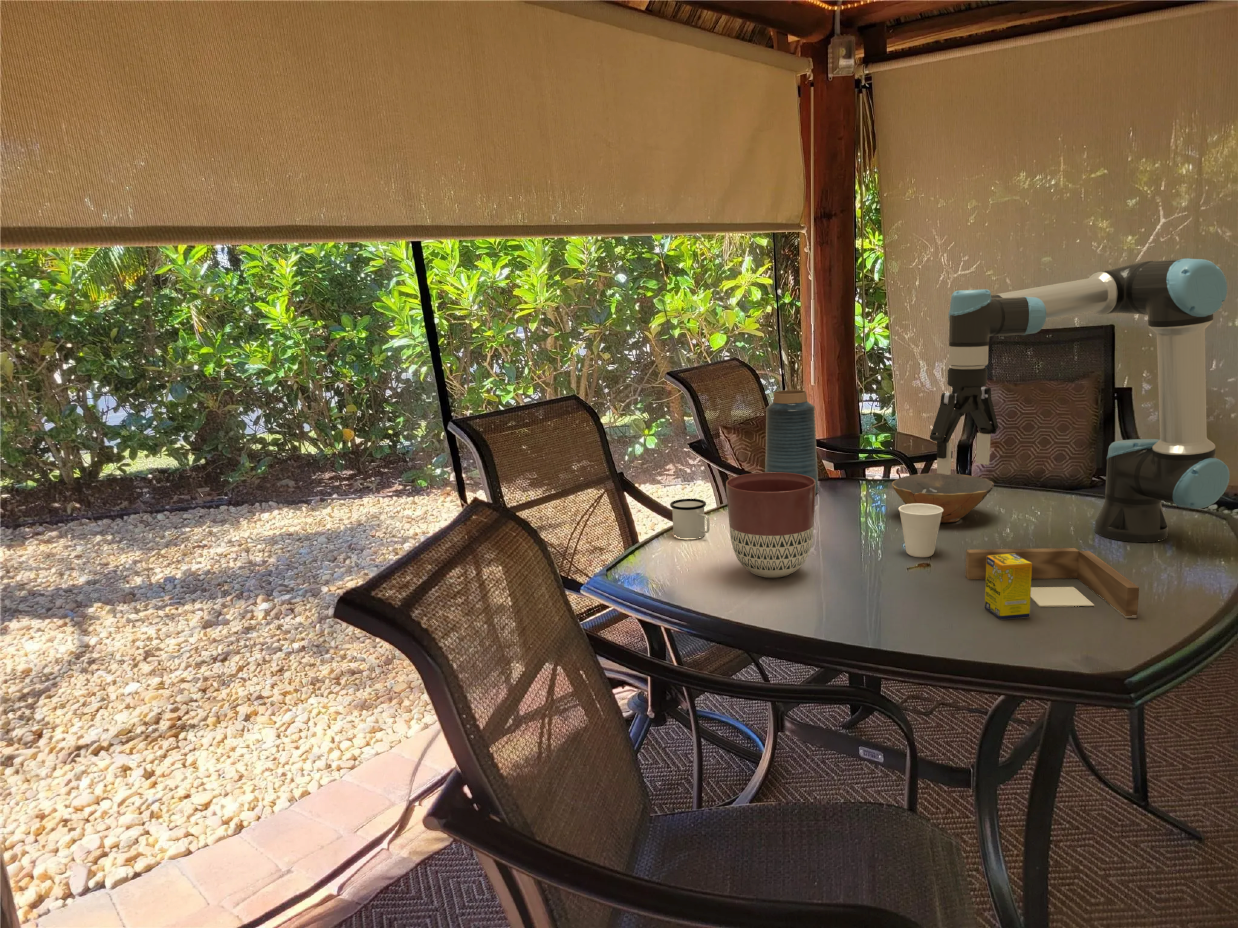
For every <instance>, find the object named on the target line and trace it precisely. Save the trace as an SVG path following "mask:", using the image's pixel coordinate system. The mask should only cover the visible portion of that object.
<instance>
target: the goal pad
mask: <svg viewBox="0 0 1238 928" xmlns="http://www.w3.org/2000/svg"><path fill="white" fill-rule="evenodd" d="M1030 600H1032V601H1033V602H1034V603H1036V606H1038V607H1040V608H1053V607H1054V608H1058V607H1059V608H1063V607H1065V608H1071V607H1072V608H1075V607H1077V606H1078V607H1079V606H1094V607H1095V604H1094V603H1093V602H1091V600H1090V599H1088V598H1087V597H1086V596H1085V595H1084V594H1083V593H1081V592H1080V591H1079V590H1078V589H1077V588H1075V586H1047V587H1046V586H1044V587H1043V586H1040V587H1038V586H1035V587H1033V586H1031V596H1030ZM1074 606H1075V607H1074ZM1079 608H1080V607H1079Z"/></svg>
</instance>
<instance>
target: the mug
mask: <svg viewBox="0 0 1238 928" xmlns="http://www.w3.org/2000/svg"><path fill="white" fill-rule="evenodd" d="M706 505H707V502H706V501H705V500H703V499H699V498H682V499H681V498H680V499H675V500H673V501H671V502H670V503H669V507H670V508H671V509H672V513H671V514H672V533H673V534H674V535H676V536H677V537H680V538H699V537H702V538H704V537H705V536H706V534H707V533H709V532H710V527H711V526H710V525H711V524H710V516H709V515H707V514H705V507H706ZM705 518H706V520H705ZM705 521H706V523H705ZM704 535H705V536H704ZM703 536H704V537H703Z"/></svg>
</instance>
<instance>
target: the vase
mask: <svg viewBox="0 0 1238 928" xmlns="http://www.w3.org/2000/svg"><path fill="white" fill-rule="evenodd" d="M772 399H773V400H772V403H770V404H769V405H768V406H766V408H765V411H766V413H765V416H766V417H765V420H766V421H765V459H764V462H765V465H764V468H765V469H764V472H784V473H795V474H801V475H805V476H809V477H811V478H813V479H814V480H815V481H816V490H815V495H816V494H817V493H818V492H819V475H818V474H819V469H818V458H817V456H818V455H817V437H816V436H817V433H816V412H815V411H816V409H815V405H814V404H812V403H811V402H809V400H808V395H807V391H806V390H801V389H788V390H787V389H786V390H785V389H784V390H778V391H777V390H776V391H774V392H773V398H772Z"/></svg>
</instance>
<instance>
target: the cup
mask: <svg viewBox="0 0 1238 928" xmlns="http://www.w3.org/2000/svg"><path fill="white" fill-rule="evenodd" d="M898 511H899V515H900V521H901V527H902V534H903V540H904V546H905V553H906V554H908V555H909V556H911V557H915V558H928V557H931V556H932V555H934V553H935V549H936V543H937V538H938V533H939V530H940V525H941V522H940V521H941V516H942V512H943V511H944V510H943V508H941V507H939V506H936V505H932V504H922V503H915V504H903V505H900V506H899V507H898Z"/></svg>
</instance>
